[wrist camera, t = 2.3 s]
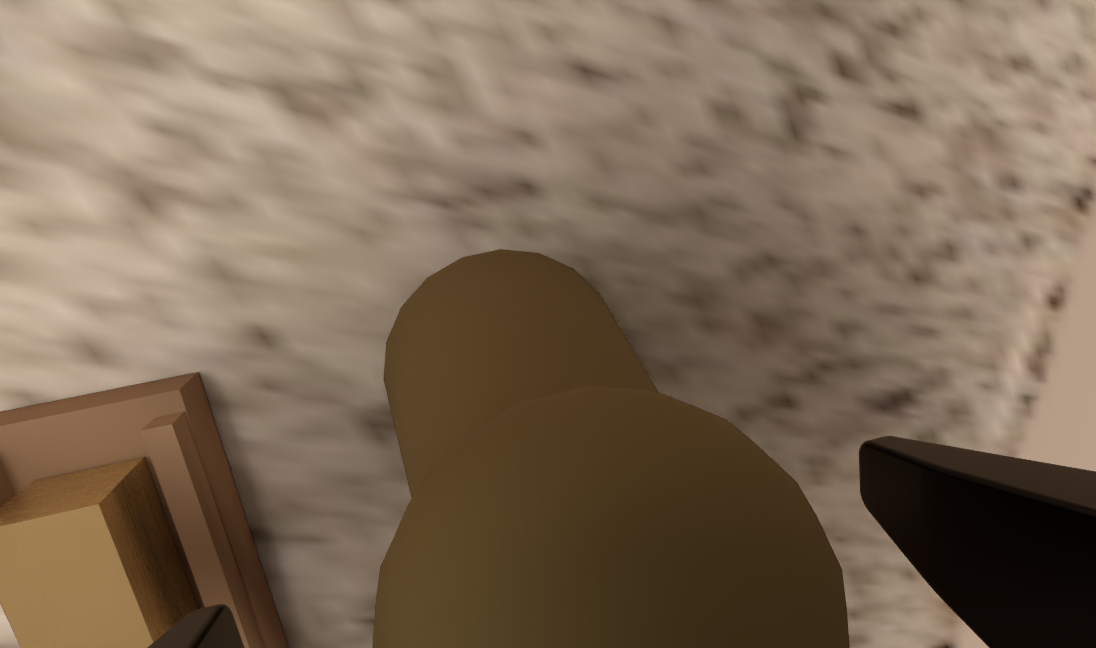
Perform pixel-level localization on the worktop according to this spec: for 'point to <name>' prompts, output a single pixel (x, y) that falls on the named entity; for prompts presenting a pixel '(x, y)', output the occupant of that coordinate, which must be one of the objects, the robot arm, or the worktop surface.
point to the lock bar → (91, 561)
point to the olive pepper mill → (579, 487)
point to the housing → (156, 482)
